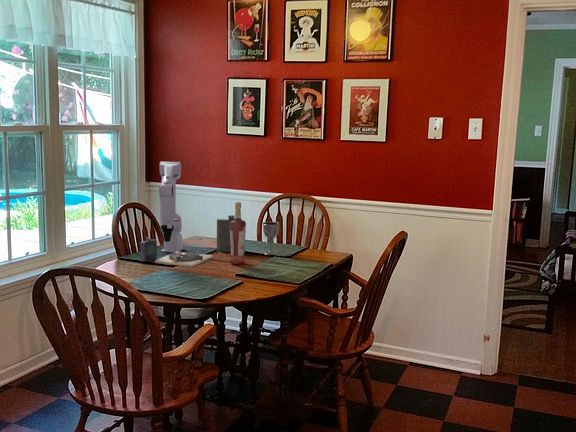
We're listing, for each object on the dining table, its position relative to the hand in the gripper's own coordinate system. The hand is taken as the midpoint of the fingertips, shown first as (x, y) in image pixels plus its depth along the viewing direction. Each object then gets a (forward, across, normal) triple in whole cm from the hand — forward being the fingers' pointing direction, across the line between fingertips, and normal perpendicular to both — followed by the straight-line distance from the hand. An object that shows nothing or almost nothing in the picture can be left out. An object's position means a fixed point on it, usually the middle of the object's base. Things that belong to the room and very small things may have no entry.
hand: (167, 241), depth 271 cm
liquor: (+11, +7, +30) cm, 33 cm away
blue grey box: (+11, -10, -7) cm, 16 cm away
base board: (+10, -6, +9) cm, 15 cm away
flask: (+11, -17, +34) cm, 40 cm away
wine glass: (+11, -9, +52) cm, 54 cm away
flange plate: (+9, -5, +8) cm, 13 cm away
